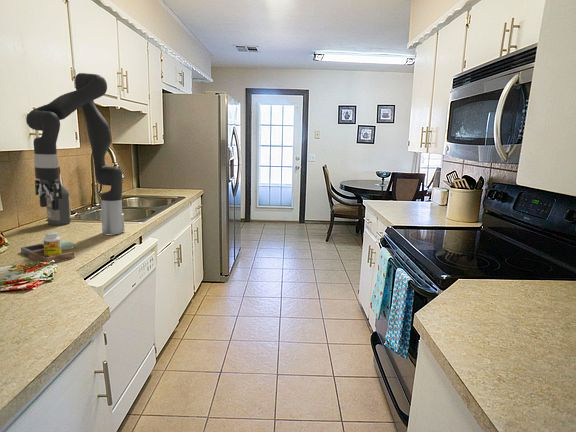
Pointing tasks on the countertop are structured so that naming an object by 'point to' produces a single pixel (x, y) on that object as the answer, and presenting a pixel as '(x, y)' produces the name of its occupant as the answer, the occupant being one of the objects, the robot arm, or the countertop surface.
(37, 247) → the hole tray
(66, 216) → the liquor
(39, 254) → the brown shallow open box
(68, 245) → the pad
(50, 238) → the supplement bottle
